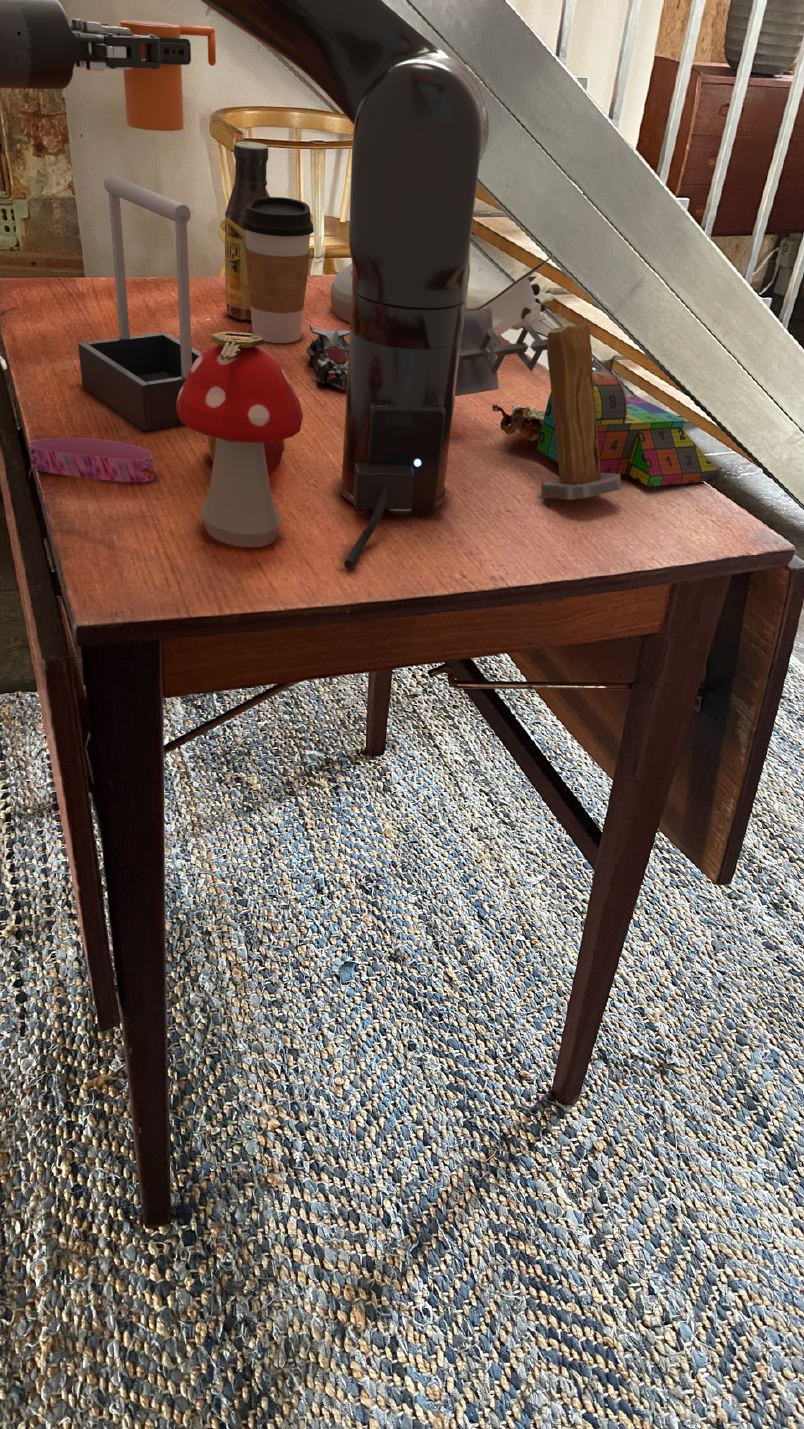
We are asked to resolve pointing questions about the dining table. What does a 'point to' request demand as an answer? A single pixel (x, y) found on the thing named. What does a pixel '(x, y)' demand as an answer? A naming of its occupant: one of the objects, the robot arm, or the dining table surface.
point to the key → (235, 342)
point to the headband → (92, 459)
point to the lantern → (568, 392)
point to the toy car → (330, 357)
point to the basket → (148, 365)
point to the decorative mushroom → (240, 438)
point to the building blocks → (636, 439)
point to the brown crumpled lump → (522, 421)
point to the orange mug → (159, 80)
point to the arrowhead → (484, 295)
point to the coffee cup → (277, 265)
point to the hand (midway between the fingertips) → (173, 48)
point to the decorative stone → (342, 293)
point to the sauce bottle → (245, 189)
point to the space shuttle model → (519, 307)
